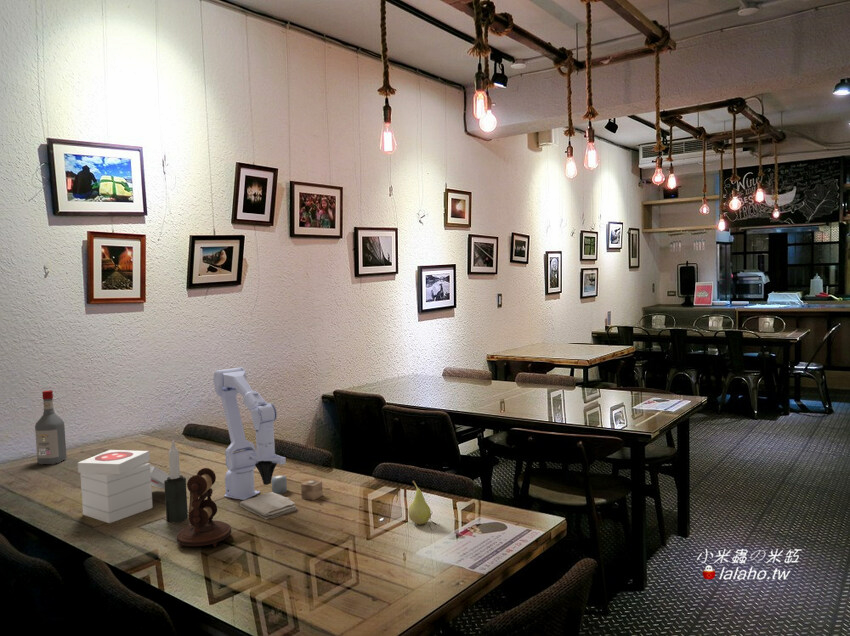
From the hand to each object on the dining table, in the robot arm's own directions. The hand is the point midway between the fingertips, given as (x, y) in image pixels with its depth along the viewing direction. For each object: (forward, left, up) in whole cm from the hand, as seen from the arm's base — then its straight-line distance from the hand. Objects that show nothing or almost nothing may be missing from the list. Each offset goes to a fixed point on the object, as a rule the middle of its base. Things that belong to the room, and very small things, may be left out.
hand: (267, 483), depth 203 cm
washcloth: (0, 0, -9) cm, 9 cm away
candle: (-20, -19, -8) cm, 29 cm away
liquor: (-122, +6, -8) cm, 122 cm away
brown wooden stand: (0, -27, -8) cm, 28 cm away
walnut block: (+7, +14, -8) cm, 18 cm away
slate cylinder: (-7, +14, -8) cm, 18 cm away
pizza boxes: (-44, -16, -8) cm, 48 cm away
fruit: (+51, +8, -8) cm, 52 cm away
